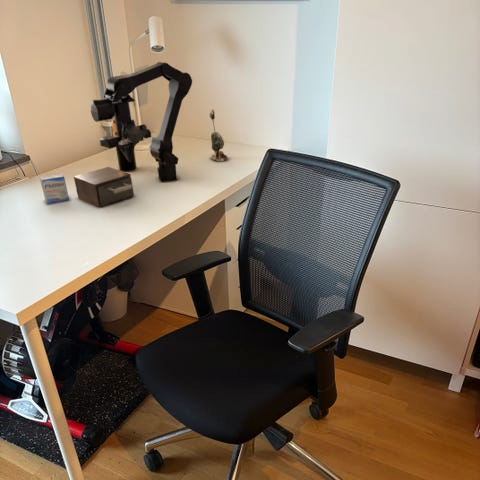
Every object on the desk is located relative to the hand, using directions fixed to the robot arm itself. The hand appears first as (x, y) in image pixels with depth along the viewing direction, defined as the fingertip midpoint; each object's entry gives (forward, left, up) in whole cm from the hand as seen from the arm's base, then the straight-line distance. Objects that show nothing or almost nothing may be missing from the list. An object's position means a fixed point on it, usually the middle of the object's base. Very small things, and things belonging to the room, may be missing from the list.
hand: (129, 161), depth 185 cm
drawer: (+9, +11, -9) cm, 16 cm away
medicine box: (+28, +4, -10) cm, 30 cm away
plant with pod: (-39, -24, -10) cm, 47 cm away
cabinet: (+11, +7, -10) cm, 16 cm away
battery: (0, -24, -10) cm, 26 cm away
